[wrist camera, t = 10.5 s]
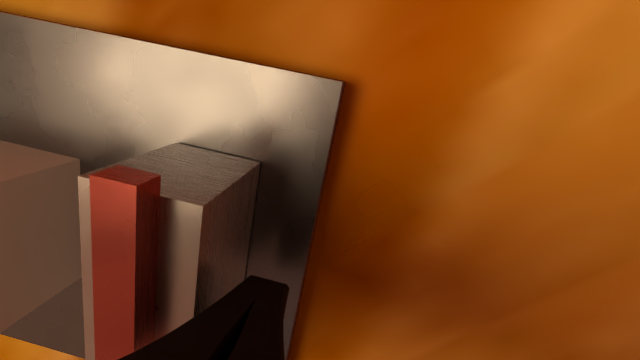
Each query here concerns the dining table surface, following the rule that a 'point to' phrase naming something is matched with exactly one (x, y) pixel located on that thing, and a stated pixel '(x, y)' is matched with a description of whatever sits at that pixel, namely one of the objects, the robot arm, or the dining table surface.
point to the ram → (160, 242)
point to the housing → (36, 228)
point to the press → (169, 137)
